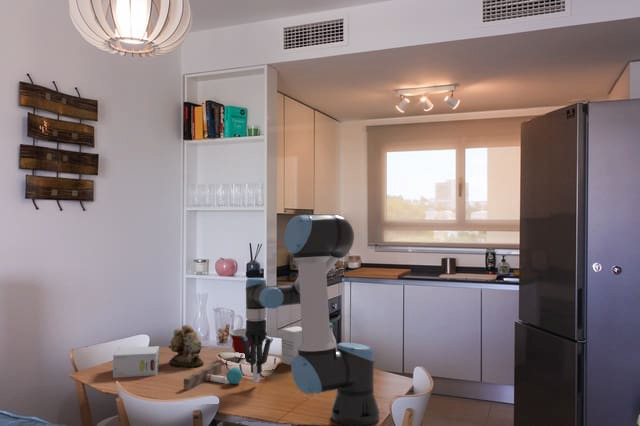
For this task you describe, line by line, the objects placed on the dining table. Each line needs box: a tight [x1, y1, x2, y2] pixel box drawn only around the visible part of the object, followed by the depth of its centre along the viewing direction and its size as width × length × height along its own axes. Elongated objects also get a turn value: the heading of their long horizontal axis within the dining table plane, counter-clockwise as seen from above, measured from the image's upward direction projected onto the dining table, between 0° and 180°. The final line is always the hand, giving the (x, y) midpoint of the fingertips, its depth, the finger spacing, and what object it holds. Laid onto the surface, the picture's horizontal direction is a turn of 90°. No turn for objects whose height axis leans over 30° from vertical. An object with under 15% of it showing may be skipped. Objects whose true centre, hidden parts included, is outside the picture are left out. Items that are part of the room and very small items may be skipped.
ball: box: [226, 367, 243, 385], centre depth 209 cm, size 6×6×6 cm
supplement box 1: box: [112, 345, 160, 379], centre depth 226 cm, size 17×13×9 cm
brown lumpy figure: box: [168, 324, 205, 369], centre depth 238 cm, size 18×12×17 cm, turn 60°
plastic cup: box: [229, 328, 250, 353], centre depth 249 cm, size 11×11×12 cm
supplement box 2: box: [280, 325, 303, 366], centre depth 238 cm, size 9×9×15 cm
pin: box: [205, 374, 228, 384], centre depth 211 cm, size 2×2×8 cm
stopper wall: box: [183, 362, 222, 391], centre depth 213 cm, size 24×2×4 cm, turn 160°
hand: (256, 381), depth 205 cm, fingers closed
